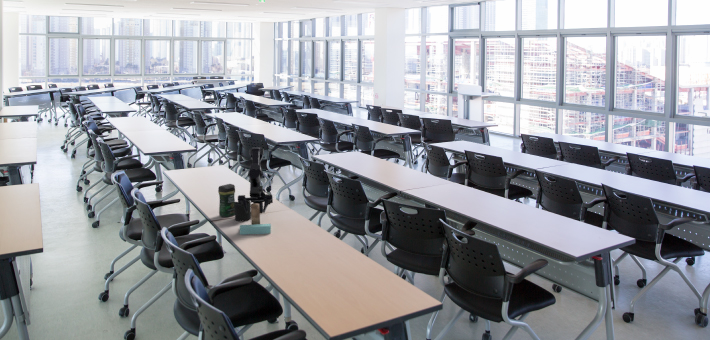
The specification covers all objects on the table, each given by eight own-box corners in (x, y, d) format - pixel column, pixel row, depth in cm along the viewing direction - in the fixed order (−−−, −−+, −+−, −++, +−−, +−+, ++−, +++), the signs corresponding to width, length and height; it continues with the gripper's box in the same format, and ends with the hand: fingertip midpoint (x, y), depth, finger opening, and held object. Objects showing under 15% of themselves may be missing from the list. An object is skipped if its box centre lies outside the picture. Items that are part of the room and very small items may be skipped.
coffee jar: (226, 218, 315) (224, 187, 311) (217, 215, 320) (215, 185, 316) (238, 214, 323) (237, 184, 319) (230, 212, 327) (228, 182, 323)
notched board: (241, 227, 299) (241, 220, 298) (270, 226, 301) (270, 219, 300) (239, 234, 287) (239, 227, 286) (270, 233, 289) (270, 226, 288)
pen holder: (247, 222, 308) (246, 205, 306) (232, 221, 310) (231, 204, 308) (253, 217, 317) (253, 200, 315) (238, 216, 319) (237, 199, 317)
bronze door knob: (254, 226, 300) (253, 202, 297) (264, 228, 297) (263, 203, 294) (247, 230, 294) (246, 205, 291) (257, 231, 292) (256, 206, 289)
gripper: (237, 181, 294) (236, 206, 286) (271, 180, 297) (272, 205, 289) (238, 191, 304) (238, 216, 296) (272, 190, 306) (272, 214, 298)
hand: (255, 212), depth 294 cm, fingers open, 9 cm apart
